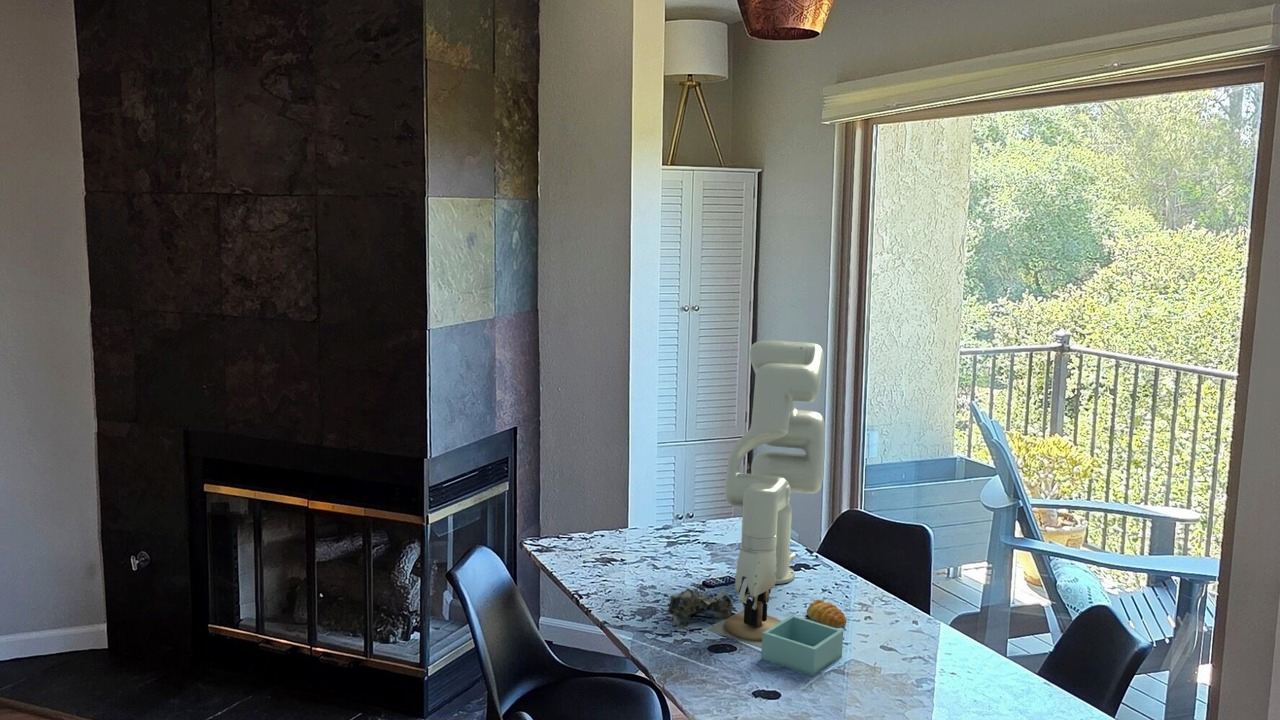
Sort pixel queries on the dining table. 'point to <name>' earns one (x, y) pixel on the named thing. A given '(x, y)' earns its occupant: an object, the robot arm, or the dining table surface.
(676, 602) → the mottled brown rock
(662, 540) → the dining table surface
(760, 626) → the lid
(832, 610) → the pastry
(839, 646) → the green square box
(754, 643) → the mat
